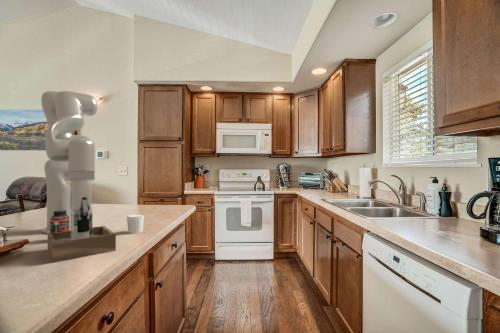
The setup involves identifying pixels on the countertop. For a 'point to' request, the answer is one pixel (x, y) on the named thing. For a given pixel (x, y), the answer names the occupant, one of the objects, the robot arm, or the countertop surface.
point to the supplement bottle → (59, 221)
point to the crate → (80, 244)
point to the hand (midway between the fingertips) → (81, 229)
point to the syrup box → (74, 225)
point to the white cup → (135, 223)
